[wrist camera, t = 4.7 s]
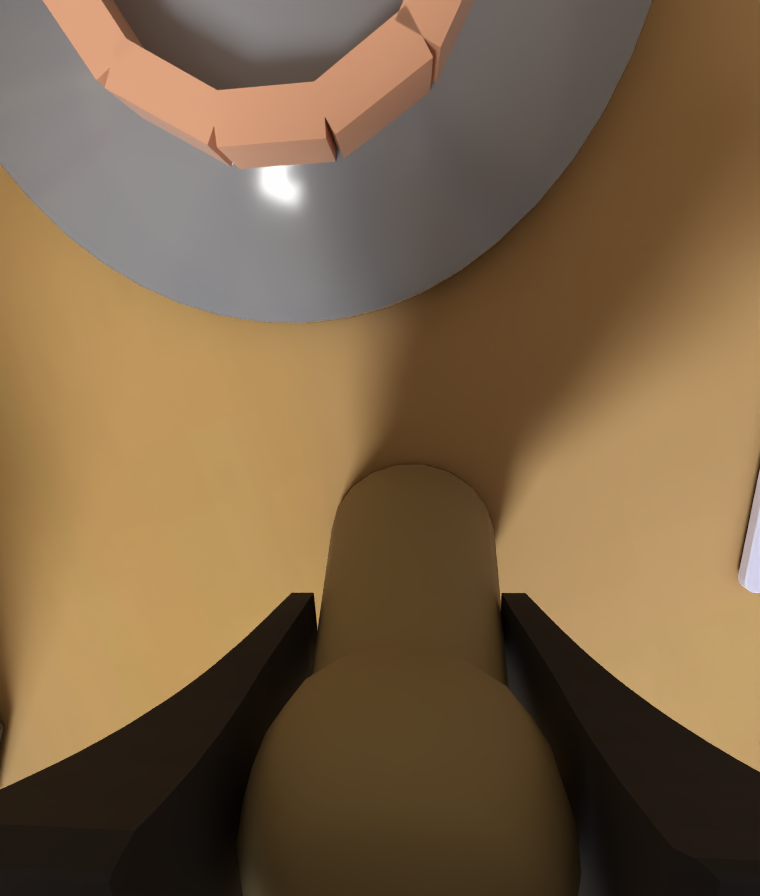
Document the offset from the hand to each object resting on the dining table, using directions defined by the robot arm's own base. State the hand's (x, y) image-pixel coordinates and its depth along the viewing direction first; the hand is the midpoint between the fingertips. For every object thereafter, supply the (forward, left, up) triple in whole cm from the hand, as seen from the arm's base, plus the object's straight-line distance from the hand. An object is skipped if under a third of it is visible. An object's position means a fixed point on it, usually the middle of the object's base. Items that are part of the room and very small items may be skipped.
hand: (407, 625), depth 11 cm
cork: (0, 0, -5) cm, 5 cm away
